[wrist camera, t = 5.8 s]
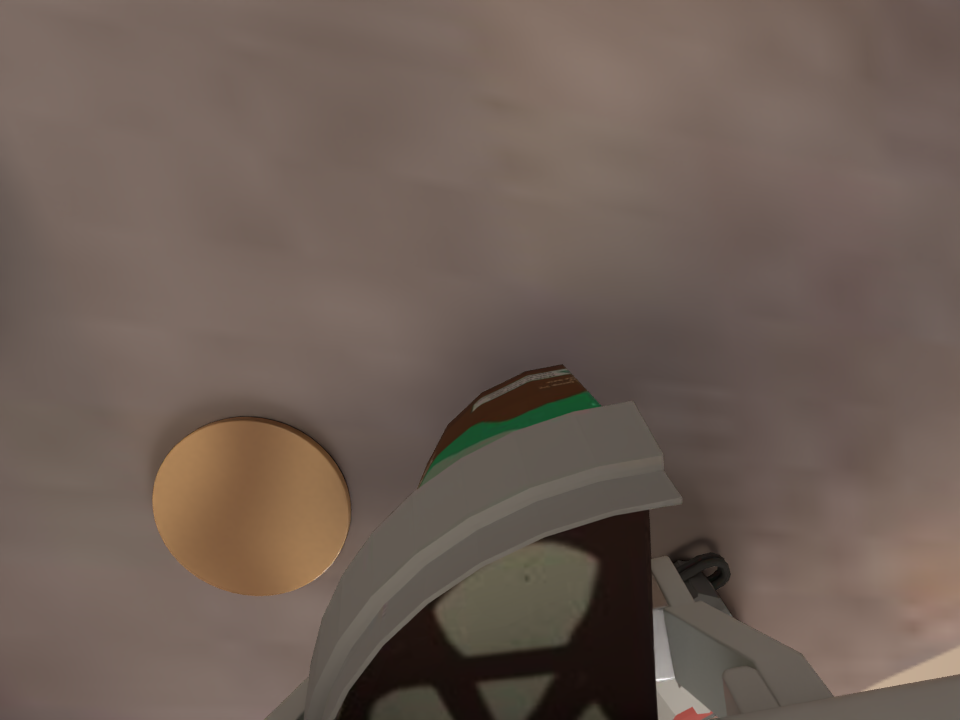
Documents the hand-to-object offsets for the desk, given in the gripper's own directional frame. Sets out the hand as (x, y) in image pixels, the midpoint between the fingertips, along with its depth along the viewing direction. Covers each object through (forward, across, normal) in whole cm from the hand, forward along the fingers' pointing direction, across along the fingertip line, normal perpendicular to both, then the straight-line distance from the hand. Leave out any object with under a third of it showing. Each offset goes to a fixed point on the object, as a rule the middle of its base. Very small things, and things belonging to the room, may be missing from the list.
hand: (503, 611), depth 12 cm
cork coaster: (+12, +12, +1) cm, 17 cm away
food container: (+5, +1, 0) cm, 5 cm away
